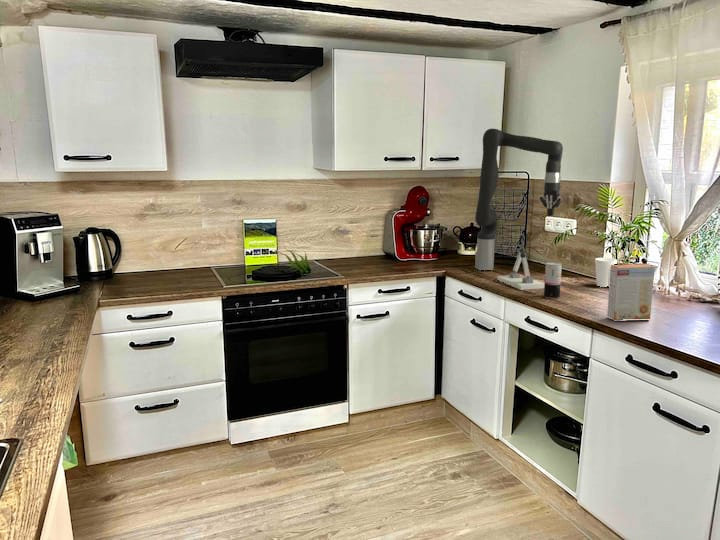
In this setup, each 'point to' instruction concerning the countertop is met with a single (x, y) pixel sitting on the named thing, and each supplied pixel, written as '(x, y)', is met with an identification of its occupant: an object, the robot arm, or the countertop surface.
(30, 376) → the countertop surface
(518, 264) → the lever
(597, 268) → the foam cup
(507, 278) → the switch base
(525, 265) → the lever
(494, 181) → the robot arm
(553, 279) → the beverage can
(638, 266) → the cracker box
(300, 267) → the decorative plant
